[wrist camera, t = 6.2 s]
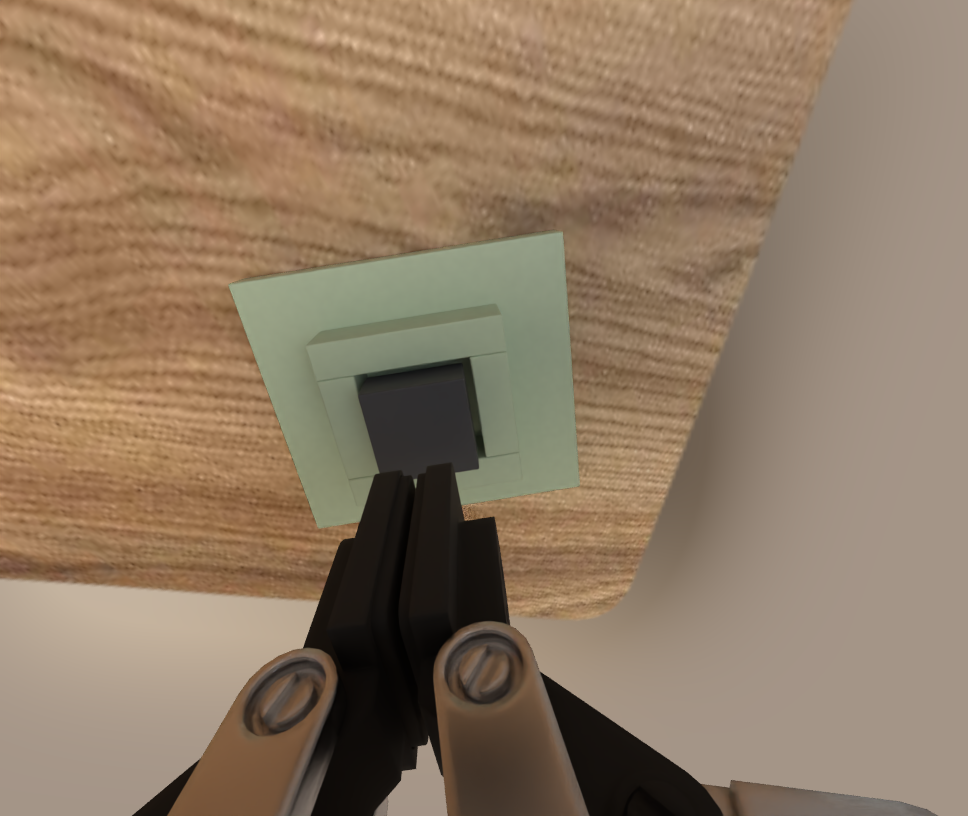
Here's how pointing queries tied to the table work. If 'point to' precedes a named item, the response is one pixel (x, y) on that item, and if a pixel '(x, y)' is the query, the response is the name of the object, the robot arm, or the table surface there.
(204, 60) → the table surface
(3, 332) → the table surface
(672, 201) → the table surface
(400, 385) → the key
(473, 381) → the square socket base
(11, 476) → the table surface
